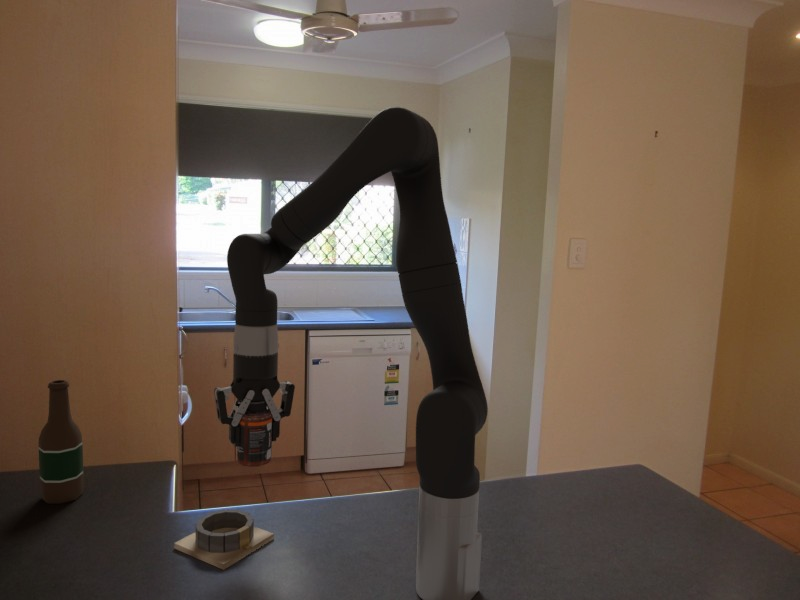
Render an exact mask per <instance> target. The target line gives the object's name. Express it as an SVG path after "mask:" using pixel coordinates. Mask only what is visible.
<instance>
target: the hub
mask: <svg viewBox="0 0 800 600" xmlns="http://www.w3.org/2000/svg"><path fill="white" fill-rule="evenodd" d="M254 523H255V519H254V517H253V516H252V515H251V513H248V512H247V511H244V510H241V509H240V510H239V509H222V510H217V511H212V512H210V513H207V514H205V515H203V516H201V517H200V518H199V519H198V521H196V524H195V531H194V532H193V533H191V534H189V535H187V536H185V537H183V538H181V539H179V540H178V541H175V542H174V543H173V545H174V546H173V548H174V549H175V550H177V551H179V552H180V553H181V552H182V553H183V554H186V555H189V556H190V557H193V558H196V559H197V560H199V561H202V562H203V563H204V562H205V563H207V564H209V565H212V566H214V567H216V568H218V569H221V570H223V571H224V570H226V569H227V568H229V567H231V566H232V565H234V564H235V563H237V562H239V561H241V560H242V559H243V558H244V559H245V557H247V556H248V554H249V553H250V554H252V553H254V552H255V551H257V550H258V549H260V548H262V547H263V546H265V545H266V544H269V543H270V542H272V541H273V540H274V539H275V535H274V534H275V533H273V532H270V531H267V530H265V529H263V528H259V527H257V526H255V525H254ZM269 541H270V542H269ZM264 544H265V545H264ZM261 546H262V547H261ZM256 549H257V550H256ZM251 552H252V553H251ZM250 554H249V555H250ZM246 555H247V556H246Z"/></svg>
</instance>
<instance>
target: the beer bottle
mask: <svg viewBox="0 0 800 600" xmlns="http://www.w3.org/2000/svg"><path fill="white" fill-rule="evenodd" d="M69 387H70V383H69V381H68V380H64V379H56V380H53V381H50V382H48V385H47V389H48V390H49V394H48V415H47V416H48V417H47V422H46V423H45V425H44V426H43V428H42V429H41V432H40V434H39V437H38V466H39V467H38V468H39V470H38V472H39V490H40V491H39V492H40V498H41V499H42V500H43V502H44V503H46V504H47V505H49V504H51V505H53V504H54V505H55V504H56V505H57V504H58V505H59V504H61V505H62V504H65V503H69V502H72V501H76V500H77V499H78V498H79V497H81V496H82V495H83V493H84V491H85V490H84V488H85V487H84V486H85V480H84V478H85V477H84V456H83V455H84V453H83V451H84V449H83V448H84V447H83V437H82V432H81V430H80V428H79V426H78V424H76V422H75V421H74V419H72V414H71V409H70V408H71V407H70V406H71V405H70V398H69V397H70V396H69V389H68V388H69Z"/></svg>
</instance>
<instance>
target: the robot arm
mask: <svg viewBox="0 0 800 600" xmlns="http://www.w3.org/2000/svg"><path fill="white" fill-rule="evenodd" d="M438 142H439V141H438V137H437V134H436V131H435V129H434V127H433V126H432V124H431V123H430V122H429V121H428V120H427V119H426V118H425V117H424V116H421V115H419V114H417V113H416V112H414V111H412V110H410V109H407V108H406V107H400V106H390V107H387V108H384V109H383V110H381V111H379V112H378V113H376V114H375V115H374V116H373V117H372V118H371V119H370V120H369V121H368V123H366V125H365V126H364V127H363V128H362V129H361V130H360V131H359V133H358V134H357V135H356V136H355V137H354V139H353V140H352V141H351V142H350V143H349V144H348V145H347V146H346V148H345V149H344V150H343V151H342V152H341V153H340V154H339V155H338V156H337V158H336V159H334V161H333V162H331V164H329V166H328V167H327V168H326V169H325V170H324V171H323V172H321V174H320V175H319V176H317V177H316V178H315V179H314V180H313V181H312V182H311V183H310V184H309V185H307V186H305V188H304V189H302V190H301V191H300V192H299V193H298V194H296V195H295V196H294V197H292V198H291V199H290V200H289V201H288V202H287V203H285V204H284V205H283V206H282V207H281V208H279V209H278V210H277V211H276V212H275V213H274V214H273V216H272V218H271V222H270V228H269V229H268V230H266V231H264V232H263V233H242V234H239V235H237V236H236V237H235V238H233V239H232V241H231V242H230V243H229V244H230V245H229V247H228V249H227V250H228V251H227V256H226V265H227V270H228V273H229V275H228V276H229V277H230V283H231V287H232V291H233V294H234V297H235V325H234V333H233V361H232V362H233V363H232V364H233V365H232V373H233V374H232V382H231V384H230V386H226V387H225V386H224V387H219V386H217V387H215V388H214V389H213V393H214V401H215V407H216V413H217V414H216V415H217V419H218V420H219V421H220V423H221V424H223V425H228V440H229V442H230V443H231V444H232V445H233V446H234V448H236V447H237V446H239V442H240V426H239V425H238V424H239V422H240V419H241V417H242V415H244V414H245V412H246V409H247V407H248V405H249V403H250V402H259V401H266V405H267V407H266V408H267V410H269V411H270V412H271V414H272V443H273V442H277V439H278V438H279V437H280V435H281V434H280V431H281V429H280V427H281V420H282V419H283V418H286V417H289V416H291V412H292V408H293V401H294V394H295V391H296V390H295V389H296V385H295V384H294V383H292V382H291V381H289V380H285V382H283V381H282V382H281V381H279V378H278V372H279V371H278V365H279V348H280V343H279V330H278V296H277V294H276V292H274V290H272V289H268V288H267V286H266V281H265V280H266V279H265V275H270V274H274V273H276V272H278V271H280V270H281V269H283V268H284V267H285V266H286V265H288V264H289V263H290V262H291V261H292V259H293V258H294V257H295V256H296V255H297V254H298V253H299V251H300V250H301V249H302V247H303V246H304V245H306V244H307V243H309V242H310V241H312V240H314V238H316V237H317V236H319V235H320V234H321V233H322V232H323V231H325V230H326V229H327V228H328V227H329V226H330V225H331V224H332V223H333V222H335V221H336V219H337V218H338V217H339V216H340V215H341V214H342V212H343V211H344V209H345V208H346V207H347V205H348V204H349V203H350V201H351V200H352V199H353V198H354V197H355V196H356V195H357V194H358V193H359V192H360V191H361V190H362V189H364V188H365V187H366V186H367V185H369V184H370V183H372V182H373V181H375V180H377V179H378V178H380V177H382V176H384V175H386V174H388V173H391V176H392V179H393V182H394V187H395V191H396V195H397V201H398V205H399V224H398V225H399V228H398V233H397V234H398V235H397V242H396V254H395V255H396V258H395V259H396V268H397V269H396V270H397V274H398V279H399V284H400V290H401V295H402V299H403V304H404V306H405V309H406V311H407V313H408V316H409V318H410V320H411V322H412V324H413V326H414V328H415V329H416V332H417V333H418V335H419V336H420V338H421V341H422V342H423V344H424V346H425V350H426V353H427V355H428V356H427V357H428V360H429V364H430V365H429V366H430V372H431V380H432V390H431V391H430V392H428V394H426V395H425V396H424V397H423V398H422V399H421V401H420V403H419V405H418V408H417V412H416V420H415V466H416V470H417V472H418V475H419V488H418V489H419V491H418V511H417V512H418V513H417V515H418V516H417V538H416V539H417V541H416V545H417V546H416V547H417V548H416V571H415V572H416V573H415V592H416V594H417V595H418V597H419V598H420V599H422V600H472V599H473V598H474V597H475V596H476V594H477V593H478V592H479V590H480V577H481V575H480V574H481V561H482V560H481V558H482V557H481V556H482V541H483V540H482V538H483V537H482V536H483V535H482V533H481V532H479V531H478V518H479V516H478V515H479V500H480V499H479V498H480V497H479V496H480V481H481V480H480V479H481V475H480V474H481V473H480V470H479V468H478V467H477V466H476V465H475V461H476V460H475V456H476V455H475V454H476V453H475V452H476V449H475V448H476V435H477V434H478V433H479V432H480V431H481V430H482V428H483V427H484V426H485V424H486V422H487V418H488V412H489V411H488V409H489V408H488V401H487V398H486V397H487V396H486V393H485V389H484V386H483V383H482V380H481V377H480V374H479V369H478V366H477V363H476V360H475V357H474V353H473V348H472V345H471V339H470V330H469V325H468V318H467V311H466V306H465V301H464V294H463V287H462V281H461V276H460V271H459V265H458V261H457V260H458V259H457V257H456V256H457V255H456V252H455V248H454V243H453V237H452V234H451V233H452V232H451V227H450V222H449V218H448V215H447V211H446V207H445V202H444V197H443V187H442V177H441V163H440V162H441V161H440V152H439V151H440V149H439V143H438ZM278 391H280V393H281V399H280V400H281V401H280V407H279V409H278V407H277V405H276V403H275V401H274V396H275V395H276V394H277V392H278ZM231 394H232V395H233V396H234V397H235V398H236V399H235V401H234V404H233V406H232V410H231V412H230V414H229V415H228V411H227V410H228V409H227V403H226V401H229V399H230V395H231Z"/></svg>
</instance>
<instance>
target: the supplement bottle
mask: <svg viewBox="0 0 800 600" xmlns="http://www.w3.org/2000/svg"><path fill="white" fill-rule="evenodd" d="M266 407H267V405H266V401H259V402H250V403H249V405H248V407H247V409H246V412H245V414H244V415H242V417H241V419H240V422H239V424H238V425H239V426H240V442H239V446H237V448H236V449H237V451H236V452H237V457H236V459H237V463H238V464H240V465H241V466H243V467H249V468H254V467H255V468H257V467H263V466H265V465H267V464H269V463H270V462H271V460H272V455H273V453H272V448H273V444H272V443H273V442H272V414H271V412H270V411H269V410H267V408H266Z"/></svg>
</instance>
